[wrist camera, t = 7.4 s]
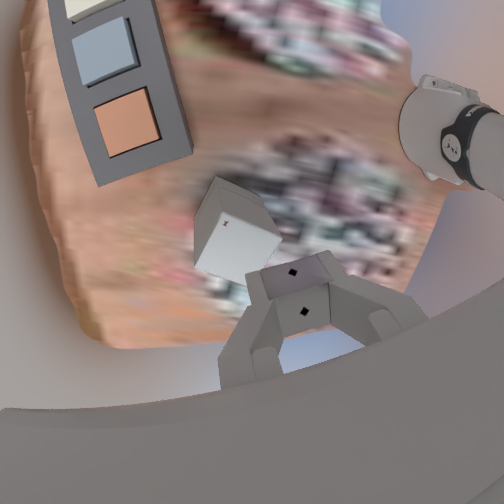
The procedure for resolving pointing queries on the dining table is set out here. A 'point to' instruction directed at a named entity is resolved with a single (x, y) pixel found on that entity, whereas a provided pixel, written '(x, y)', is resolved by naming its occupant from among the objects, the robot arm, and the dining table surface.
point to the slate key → (106, 52)
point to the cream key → (87, 8)
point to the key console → (123, 90)
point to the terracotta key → (128, 122)
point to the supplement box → (233, 232)
